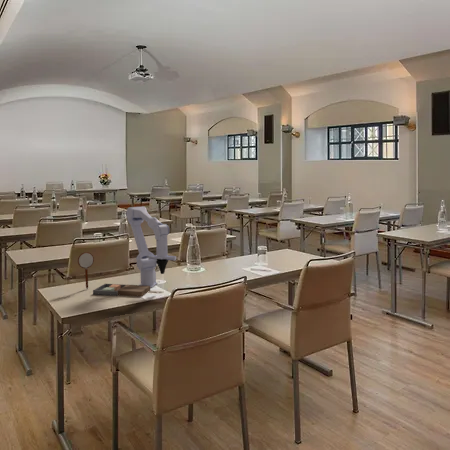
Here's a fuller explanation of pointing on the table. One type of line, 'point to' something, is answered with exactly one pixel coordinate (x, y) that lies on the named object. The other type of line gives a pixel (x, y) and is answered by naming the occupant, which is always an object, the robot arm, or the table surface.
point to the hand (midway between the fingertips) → (162, 273)
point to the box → (100, 292)
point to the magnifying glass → (86, 263)
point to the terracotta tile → (115, 287)
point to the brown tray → (133, 290)
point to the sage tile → (108, 289)
